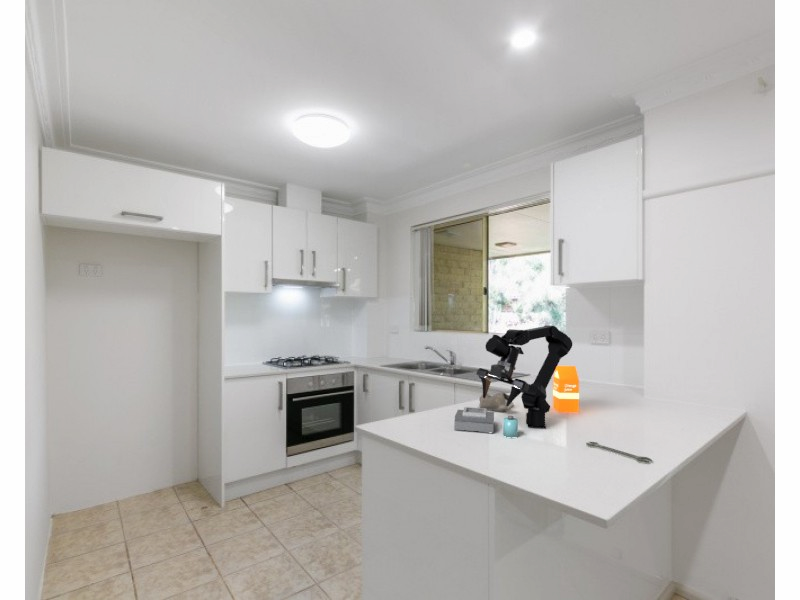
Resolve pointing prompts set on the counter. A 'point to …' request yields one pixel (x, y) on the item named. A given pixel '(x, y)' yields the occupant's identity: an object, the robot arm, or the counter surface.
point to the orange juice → (566, 389)
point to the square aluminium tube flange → (474, 420)
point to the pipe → (495, 402)
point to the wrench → (620, 453)
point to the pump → (510, 426)
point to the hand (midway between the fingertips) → (495, 401)
